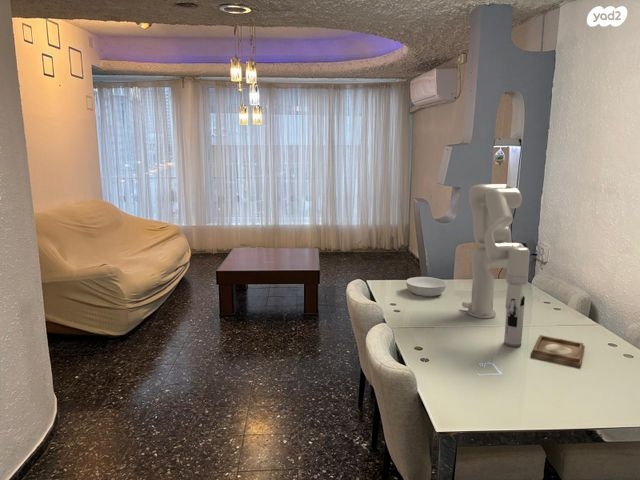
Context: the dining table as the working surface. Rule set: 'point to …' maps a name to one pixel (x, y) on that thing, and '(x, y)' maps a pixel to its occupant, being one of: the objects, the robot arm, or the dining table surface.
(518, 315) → the travel mug
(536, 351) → the wooden tray
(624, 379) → the dining table surface
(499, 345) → the dining table surface
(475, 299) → the robot arm
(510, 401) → the dining table surface
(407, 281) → the serving bowl
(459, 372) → the dining table surface
